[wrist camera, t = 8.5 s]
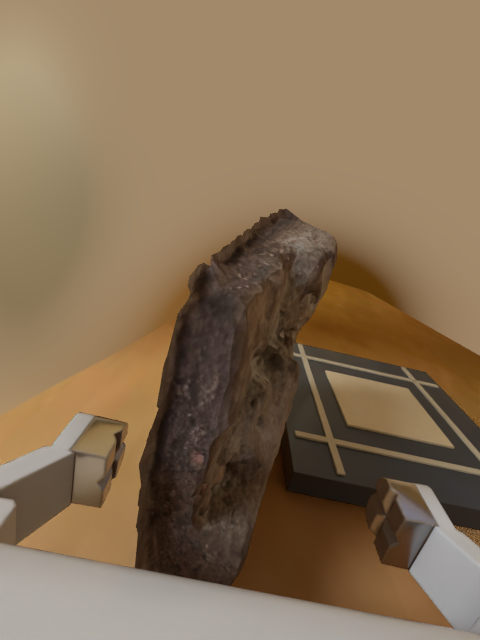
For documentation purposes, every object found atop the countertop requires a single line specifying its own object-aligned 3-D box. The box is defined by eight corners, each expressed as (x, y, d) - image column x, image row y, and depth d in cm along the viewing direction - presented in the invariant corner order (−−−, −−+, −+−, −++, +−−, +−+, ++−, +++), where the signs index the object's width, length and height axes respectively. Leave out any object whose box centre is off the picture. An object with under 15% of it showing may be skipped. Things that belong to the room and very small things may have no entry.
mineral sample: (224, 407, 27) (277, 208, 22) (274, 425, 27) (341, 225, 22) (85, 671, 12) (152, 206, 6) (198, 729, 11) (372, 267, 6)
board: (286, 491, 21) (294, 468, 20) (269, 349, 40) (273, 335, 39) (565, 547, 22) (581, 528, 21) (420, 383, 41) (426, 370, 40)
